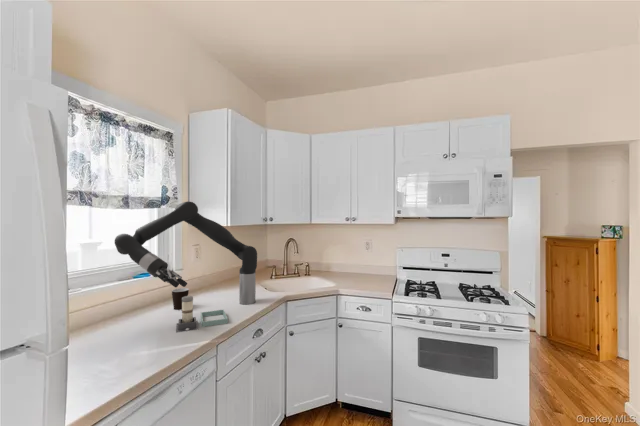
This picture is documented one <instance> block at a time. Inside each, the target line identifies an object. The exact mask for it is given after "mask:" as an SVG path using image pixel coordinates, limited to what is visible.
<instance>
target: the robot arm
mask: <svg viewBox="0 0 640 426" xmlns="http://www.w3.org/2000/svg"><path fill="white" fill-rule="evenodd" d="M182 222H185V223H187V224H188V225H190V226H192V227H194V228H195V229H197V230H198V231H199V232H201V233H202V234H203V235H205V236H206V237H208V238H209V239H210V240H212V241H213V242H215V243H216V244H218V245H220V246H221V247H223V248H225V249H227V250H228V251H230V252H231V253H232V254H233V255H235V256H236V257H237V258H238V259H239V260H241V267H240V268H239V272H238V273H239V281H238V282H239V286H238V287H239V291H238V293H239V298H238V299H239V301H238V302H239V304H241V305H253V304H255V303H256V275H257V274H256V270H257V267H258V251H257V249H256V247H254V246H251V245H247V244H245V243H243V242H241V241H239V240H238V239H237V238H235V236H234V235H233V234H232V233H231V232H230V231H229V230H228V229H227V228H226V227H224V226H223V225H221V223H218V222H216V221H215V220H211V219H209V218H207V217H205V216H203V215H202V214H200V213H199V207H198V205H197V204H196V203H195V202H193V201H183V202H181V203H179V204H177V205H176V207H175V208H174V210H172V211H171V212H169V213H168V214H166V215H163V216H161V217H159V218H156V219H153V220H152V221H149V222H147V223H146V224H144V225H142V226H140V227H138V228H137V229H136V230H135V231H134V232H135V233H134V234H133V235H131V234H128V233H120V234H118V235H116V236H115V238H114V246H115V247H116V250H117V253H119V254H121V255H128V256H129V258H130V259H131V260H132V261H133V262H134V263H135V264H137V265H138V266H139V267H140V268H141V269H143V270H144V271H145V272H147V273H148V274H149V275H151V276H153V278H158V279H160V280H161V281H162V282H164V283H167V284H170V285H171V286H173V287H174V288H179V287H178V286H179V285H180V286H181V287H182V288H186V287H187V285H188V281H187V282H186V281H185V280H184V279H183V277H182V276H181V275H180V274H178V272H175V271H174V270H171V269H168V266H169V264H168V263H167V262H166V261H165V260H163V259H162V258H161V257H160V256H159V255H157V254H155V253H152V252H151V251H150V250H149V249H147V248H145V247H144V246H143V245H144V244H145V243H146V242H148V241H150V240H151V239H153V238H155V237H157V236H158V235H160V234H162V233H163V232H165V231H167V230H168V229H171V228H172V227H174V226H176V225H178V224H180V223H182Z"/></svg>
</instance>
